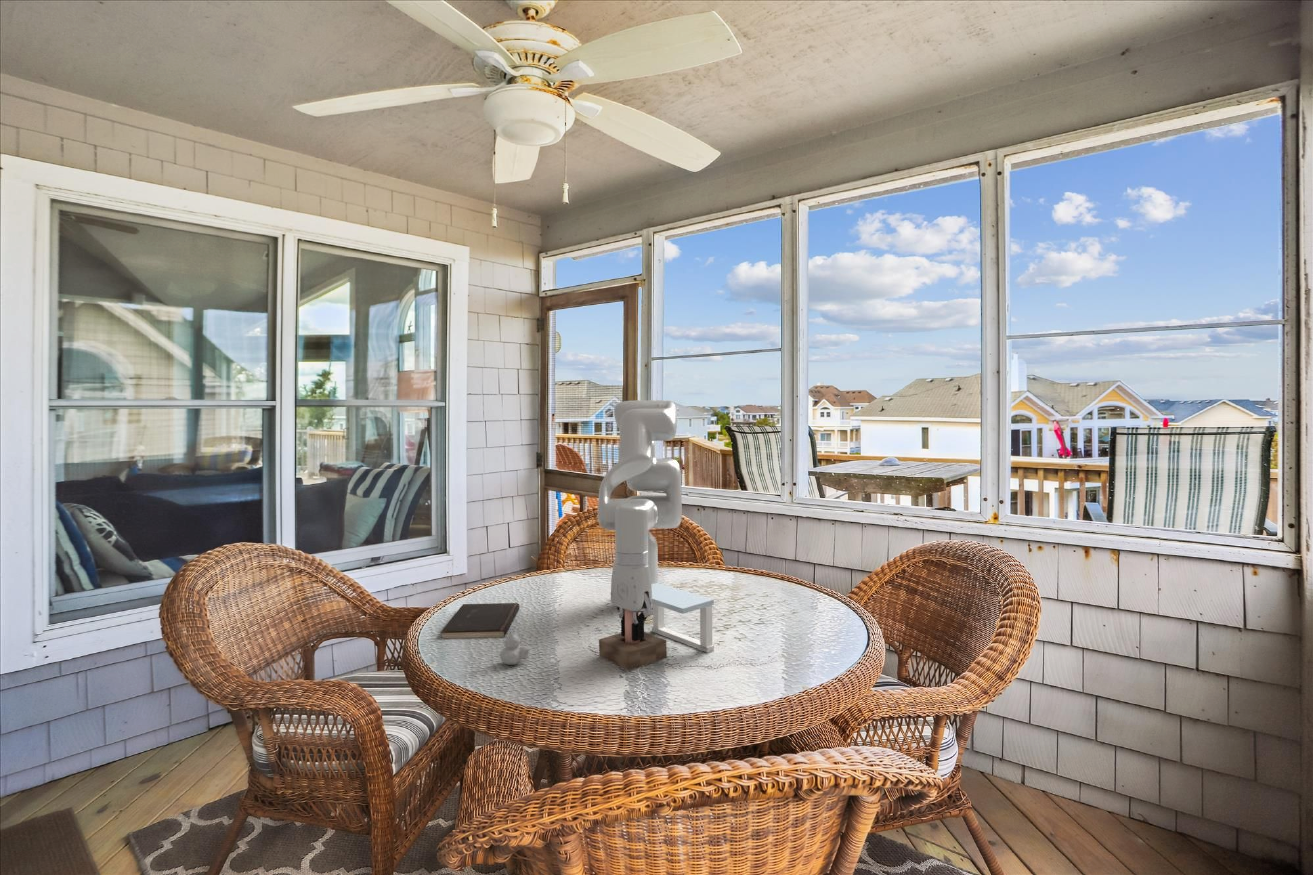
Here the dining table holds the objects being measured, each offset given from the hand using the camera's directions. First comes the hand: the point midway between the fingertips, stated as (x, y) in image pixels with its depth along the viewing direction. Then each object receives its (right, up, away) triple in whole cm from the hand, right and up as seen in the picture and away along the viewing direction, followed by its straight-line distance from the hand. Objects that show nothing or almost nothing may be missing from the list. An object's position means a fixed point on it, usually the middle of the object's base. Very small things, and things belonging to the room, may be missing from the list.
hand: (632, 636), depth 151 cm
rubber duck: (-26, -5, -3) cm, 27 cm away
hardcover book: (-41, -5, +25) cm, 49 cm away
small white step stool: (+9, -4, +8) cm, 12 cm away
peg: (0, -4, 0) cm, 4 cm away
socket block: (0, -5, 0) cm, 5 cm away
